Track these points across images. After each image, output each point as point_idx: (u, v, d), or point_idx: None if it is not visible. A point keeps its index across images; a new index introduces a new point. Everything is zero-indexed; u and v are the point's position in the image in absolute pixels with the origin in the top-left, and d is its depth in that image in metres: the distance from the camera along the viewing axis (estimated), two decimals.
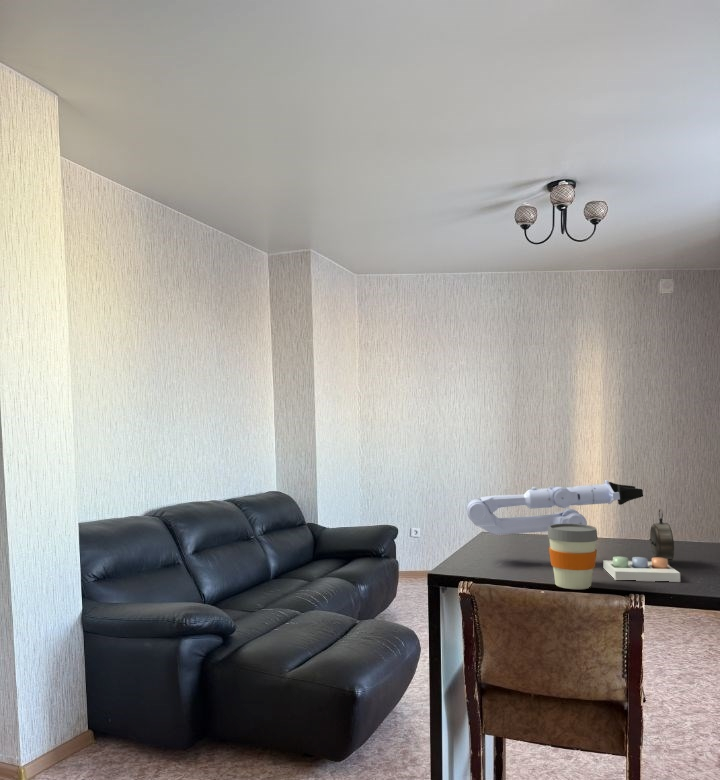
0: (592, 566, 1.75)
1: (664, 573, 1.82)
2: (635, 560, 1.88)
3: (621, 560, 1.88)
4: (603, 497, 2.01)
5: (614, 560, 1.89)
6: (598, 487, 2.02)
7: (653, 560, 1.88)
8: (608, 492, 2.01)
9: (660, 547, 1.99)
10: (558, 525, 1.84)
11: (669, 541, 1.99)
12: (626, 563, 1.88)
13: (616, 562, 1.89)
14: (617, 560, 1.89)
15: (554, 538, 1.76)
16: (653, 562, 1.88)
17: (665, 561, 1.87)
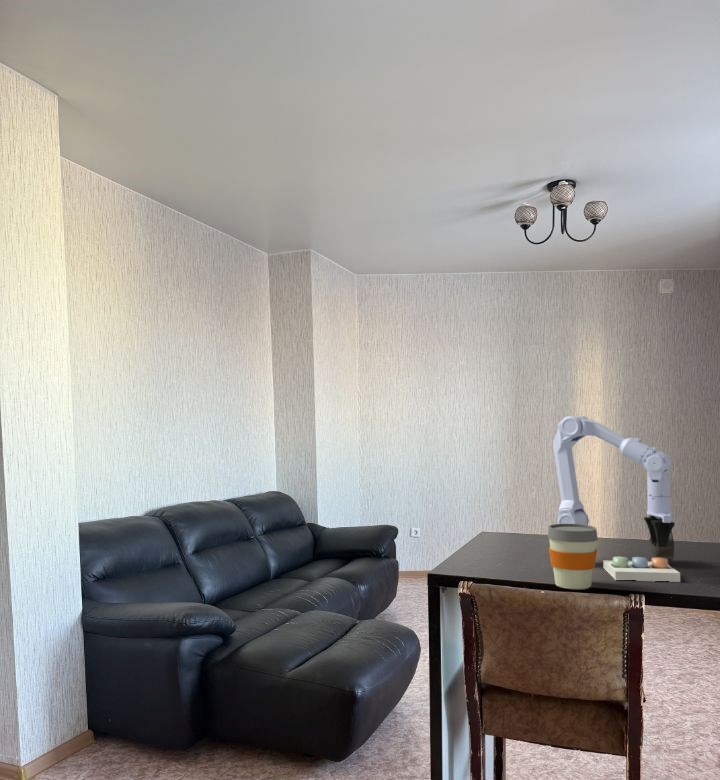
0: (592, 566, 1.75)
1: (664, 573, 1.82)
2: (635, 560, 1.88)
3: (621, 560, 1.88)
4: (658, 506, 1.87)
5: (614, 560, 1.89)
6: (669, 502, 1.87)
7: (653, 560, 1.88)
8: (664, 513, 1.86)
9: (660, 547, 1.99)
10: (558, 525, 1.84)
11: (669, 541, 1.99)
12: (626, 563, 1.88)
13: (616, 562, 1.89)
14: (617, 560, 1.89)
15: (554, 538, 1.76)
16: (653, 562, 1.88)
17: (665, 561, 1.87)
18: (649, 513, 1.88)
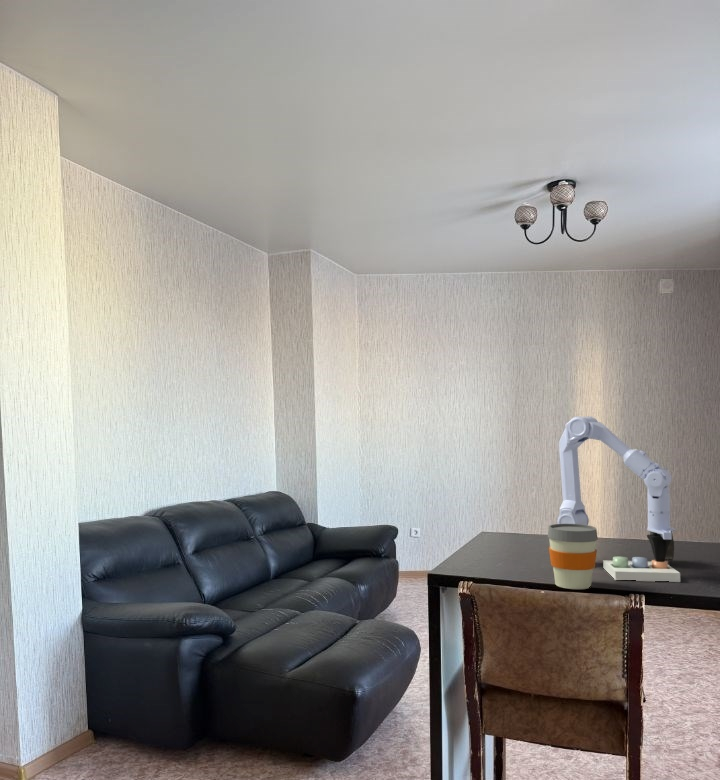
0: (592, 566, 1.75)
1: (664, 573, 1.82)
2: (635, 560, 1.88)
3: (621, 560, 1.88)
4: (659, 523, 1.86)
5: (614, 560, 1.89)
6: (669, 519, 1.87)
7: (653, 562, 1.88)
8: (665, 529, 1.86)
9: None
10: (558, 525, 1.84)
11: None
12: (626, 563, 1.88)
13: (616, 562, 1.89)
14: (617, 560, 1.89)
15: (554, 538, 1.76)
16: (653, 564, 1.88)
17: (665, 563, 1.87)
18: (649, 529, 1.88)
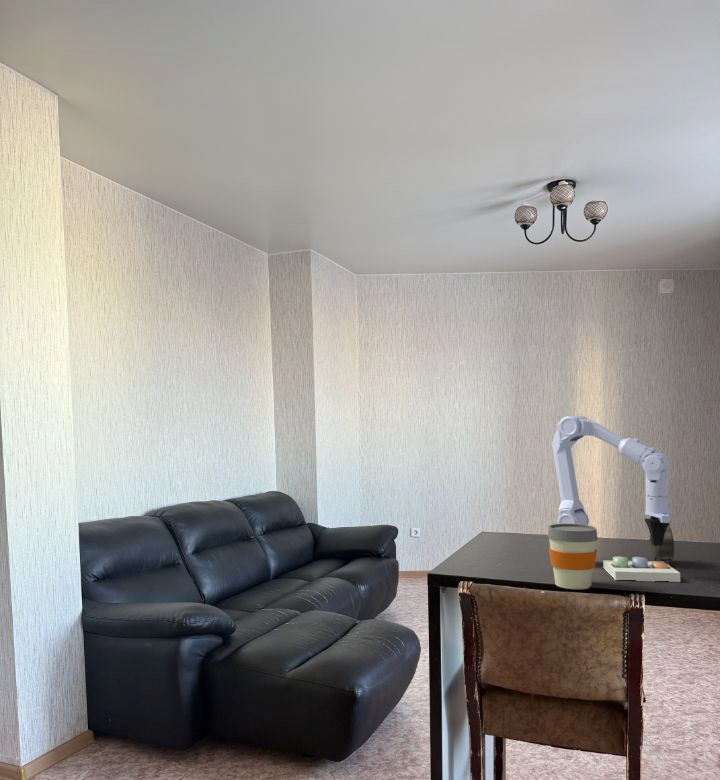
0: (592, 566, 1.75)
1: (664, 573, 1.82)
2: (635, 560, 1.88)
3: (621, 560, 1.88)
4: (656, 507, 1.87)
5: (614, 560, 1.89)
6: (667, 503, 1.87)
7: (653, 564, 1.88)
8: (662, 513, 1.86)
9: (660, 547, 1.99)
10: (558, 525, 1.84)
11: (669, 541, 1.99)
12: (626, 563, 1.88)
13: (616, 562, 1.89)
14: (617, 560, 1.89)
15: (554, 538, 1.76)
16: (653, 566, 1.88)
17: (665, 565, 1.87)
18: (647, 513, 1.88)
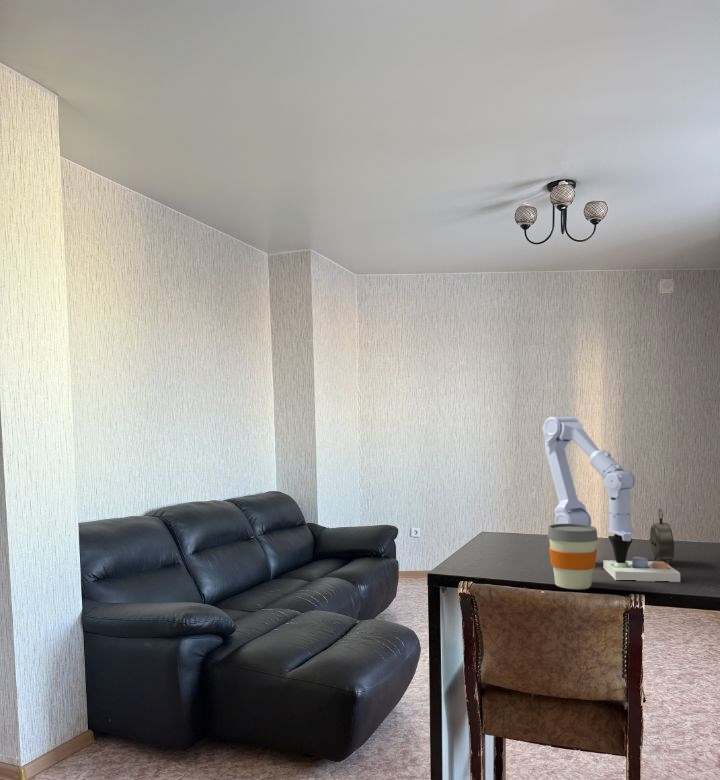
0: (592, 566, 1.75)
1: (664, 573, 1.82)
2: (635, 560, 1.88)
3: (621, 564, 1.88)
4: (619, 524, 1.88)
5: (614, 564, 1.89)
6: (629, 520, 1.88)
7: (653, 564, 1.88)
8: (625, 531, 1.87)
9: (660, 547, 1.99)
10: (558, 525, 1.84)
11: (669, 541, 1.99)
12: (626, 567, 1.88)
13: (616, 566, 1.89)
14: (617, 564, 1.88)
15: (554, 538, 1.76)
16: (653, 566, 1.88)
17: (665, 565, 1.87)
18: (610, 531, 1.89)
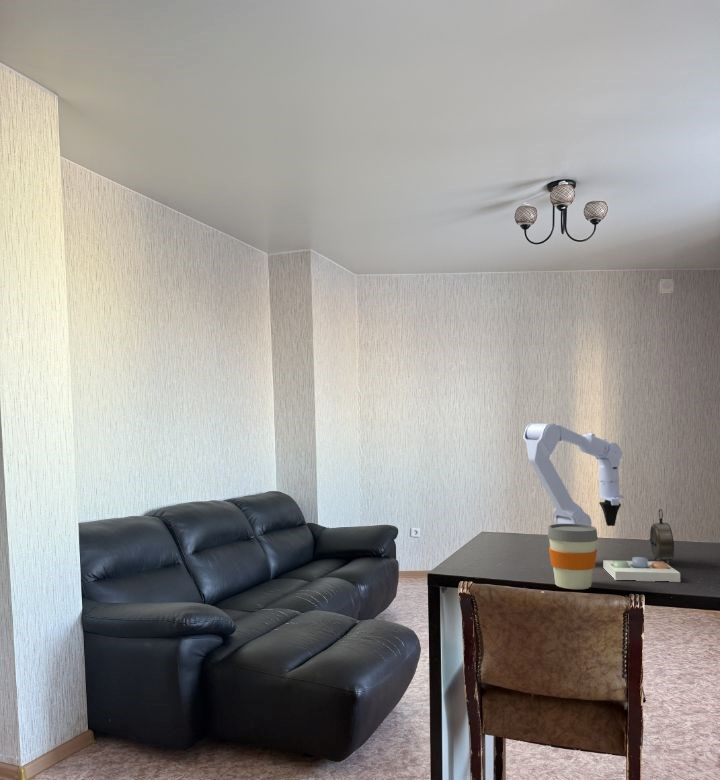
0: (592, 566, 1.75)
1: (664, 573, 1.82)
2: (635, 560, 1.88)
3: (621, 564, 1.88)
4: (608, 491, 2.07)
5: (614, 564, 1.89)
6: (618, 487, 2.08)
7: (653, 564, 1.88)
8: (614, 496, 2.07)
9: (660, 547, 1.99)
10: (558, 525, 1.84)
11: (669, 541, 1.99)
12: (626, 567, 1.88)
13: (616, 566, 1.89)
14: (617, 564, 1.88)
15: (554, 538, 1.76)
16: (653, 566, 1.88)
17: (665, 565, 1.87)
18: (601, 497, 2.09)
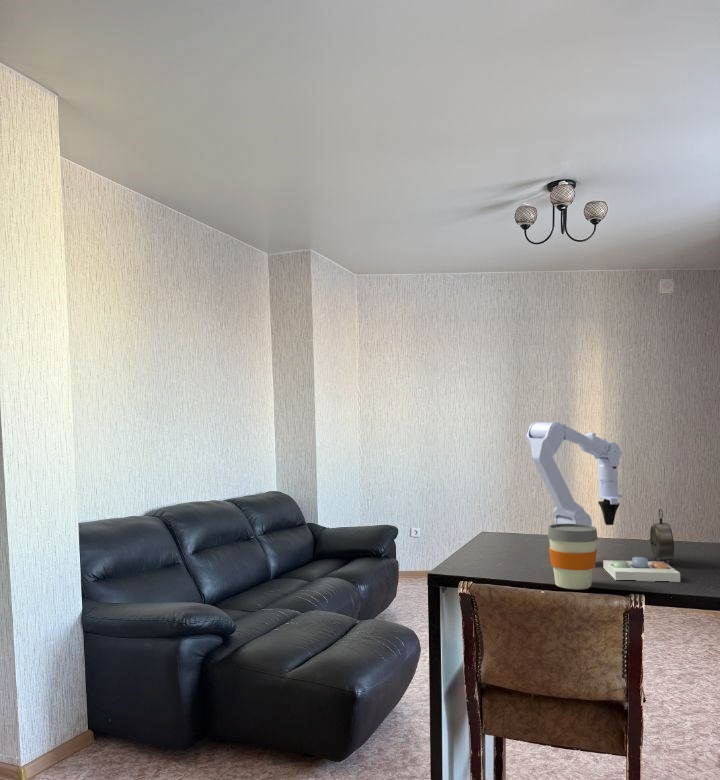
0: (592, 566, 1.75)
1: (664, 573, 1.82)
2: (635, 560, 1.88)
3: (621, 564, 1.88)
4: (607, 490, 2.09)
5: (614, 564, 1.89)
6: (617, 486, 2.09)
7: (653, 564, 1.88)
8: (613, 496, 2.08)
9: (660, 547, 1.99)
10: (558, 525, 1.84)
11: (669, 541, 1.99)
12: (626, 567, 1.88)
13: (616, 566, 1.89)
14: (617, 564, 1.88)
15: (554, 538, 1.76)
16: (653, 566, 1.88)
17: (665, 565, 1.87)
18: (600, 496, 2.10)
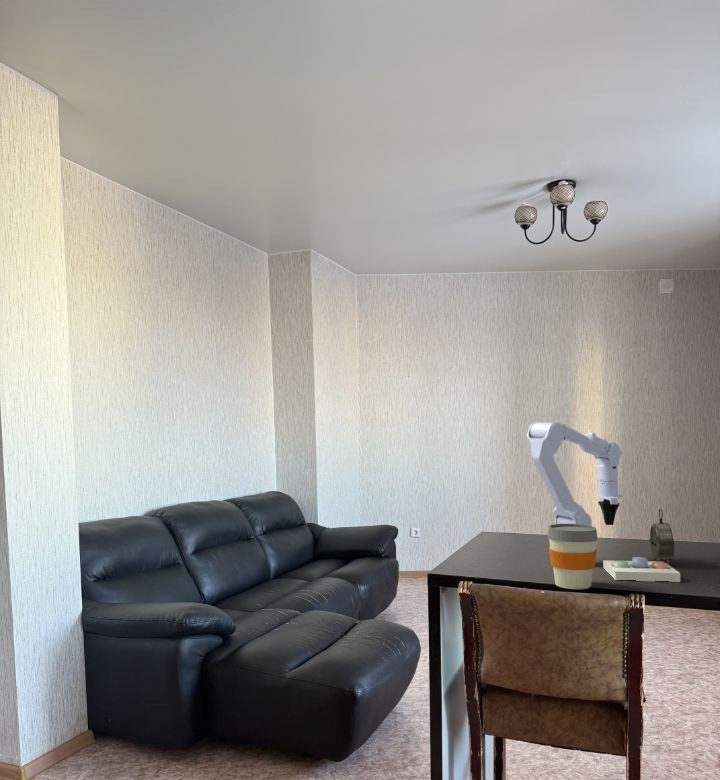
0: (592, 566, 1.75)
1: (664, 573, 1.82)
2: (635, 560, 1.88)
3: (621, 564, 1.88)
4: (607, 490, 2.09)
5: (614, 564, 1.89)
6: (617, 486, 2.09)
7: (653, 564, 1.88)
8: (613, 496, 2.08)
9: (660, 547, 1.99)
10: (558, 525, 1.84)
11: (669, 541, 1.99)
12: (626, 567, 1.88)
13: (616, 566, 1.89)
14: (617, 564, 1.88)
15: (554, 538, 1.76)
16: (653, 566, 1.88)
17: (665, 565, 1.87)
18: (600, 496, 2.10)
